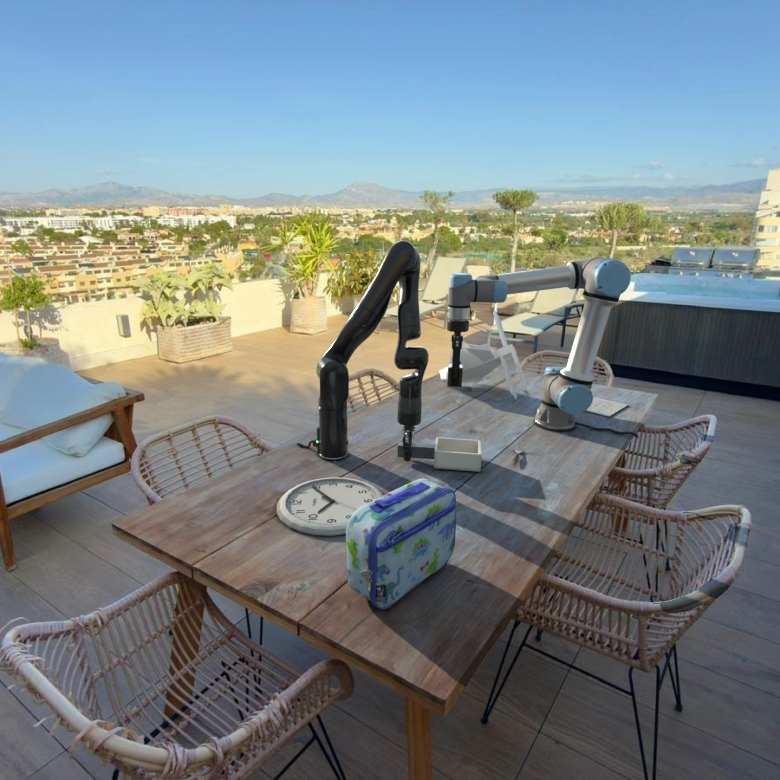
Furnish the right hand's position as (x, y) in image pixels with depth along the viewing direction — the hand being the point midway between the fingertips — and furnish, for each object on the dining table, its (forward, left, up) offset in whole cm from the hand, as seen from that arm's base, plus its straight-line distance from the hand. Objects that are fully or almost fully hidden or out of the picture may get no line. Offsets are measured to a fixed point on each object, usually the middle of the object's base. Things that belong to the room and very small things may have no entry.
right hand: (454, 384), depth 187 cm
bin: (+4, +24, -19) cm, 31 cm away
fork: (-22, +16, -20) cm, 34 cm away
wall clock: (+32, +56, -20) cm, 68 cm away
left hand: (+14, +24, -19) cm, 34 cm away
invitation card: (-64, -43, -20) cm, 80 cm away
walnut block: (0, 0, 0) cm, 0 cm away
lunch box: (+10, +85, -20) cm, 88 cm away
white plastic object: (-12, -55, -20) cm, 60 cm away
